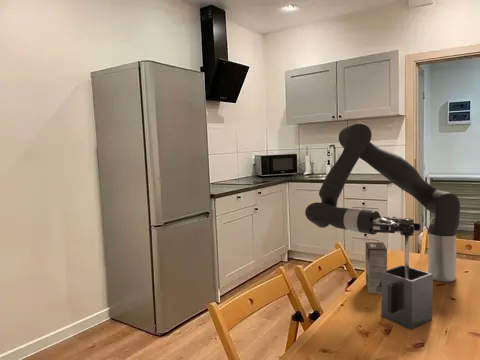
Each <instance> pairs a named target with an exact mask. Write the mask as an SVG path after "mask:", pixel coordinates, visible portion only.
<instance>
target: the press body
mask: <svg viewBox="0 0 480 360" xmlns="http://www.w3.org/2000/svg"><path fill="white" fill-rule="evenodd" d="M433 281H434V280H433V274H432V273H428V271H424V270H420V269H417V268H413V267H410V266H409V280H408V279H405V278H404V265H401V264H400V265H399V266H398V265H397V266H395V267H392V268H389V269H387V270H386V271H383V272H381V295H380V296H381V300H380V301H381V303H380V304H381V306H380V308H381V310H380V311H381V312H380V313H381V314H380V315H381V318H382V319H385V320H388V321H389V322H392V323H395V324H397V325H398V326H401V327H404V328H406V329H409V330H411V331H413V330H415V329H417V328H420V327H421V326H423V325H425V324H428V323H430V322H432V321H433V300H434V299H433V292H434V291H433V290H434V288H433V287H434V286H433V285H434V282H433Z"/></svg>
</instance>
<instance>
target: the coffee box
mask: <svg viewBox="0 0 480 360" xmlns="http://www.w3.org/2000/svg"><path fill="white" fill-rule="evenodd" d="M386 270H388V248H387V247H386V244H385V243H384V241H383V242H378V241H377V242H375V241H374V242H370V241H367V242H365V284H366V288H367V291H368V293H369V294H381V272H383V271H386Z"/></svg>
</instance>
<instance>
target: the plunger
mask: <svg viewBox="0 0 480 360" xmlns="http://www.w3.org/2000/svg"><path fill="white" fill-rule="evenodd" d="M401 218H402V217H401ZM414 222H415V220H414V219H413V218H409V217H408V218H407V217H405V218H402V219H400V224H405V225H413V226H414ZM414 233H415V232H414ZM414 233H405V232H399V234H400V235H401V236H404V265H403V266H404V278H405V279H408V280H409V267H410V237H413V236H414Z"/></svg>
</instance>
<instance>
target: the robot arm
mask: <svg viewBox="0 0 480 360" xmlns="http://www.w3.org/2000/svg"><path fill="white" fill-rule="evenodd" d="M372 133H373V132H372V130H371V128H370V127H369V126H368V125H367V124H366V123H364V122H363V123H362V122H358V123H353V124H351V125H348V126H346V127H344V128H343V129H342V130H340V132H339V134H338V142H339V144H340V145H341V147H342V148H343V150H342V153H341V154H340V156H339V157H338V159H337V160H336V162H335V163H334V165H333V166H332V167H331V169H330V170H329V171H328V173H327V175H326V177H325V178H324V180H323V183H322V184H321V187H320V189H319V190H318V196H319V197H320V200H321V201H320V202H317V201H316V202H312V203H310V204H308V205H307V207H306V208H305V211H304V213H305V217H306V219H307V220H308V221H309V222H311V223H313V224H314V225H316V226H317V227H318V228H323V229H325V228H327V227H329V226H332V227H333V228H337V229H340V230H347V231H351V232H355V233H361V234H367V235H376V234H377V233H385V234H395V233H397V234H398V233H399V234H400V232H405V233H415V231H416V232H419V231H421V229H422V228H421V223H419V222H416V221H414V226H413V225H405V224H400V219H402V217H398V216H392V217H390V216H383V217H382V216H381V214H380V213H379V211H378V210H373V209H365V208H364V209H363V208H348V207H340V206H337V205H338V200H339V198H340V196H341V194H342V191H343V190H344V187H345V185H346V182H347V180H348V179H349V176H350V174H351V173H352V171H353V169H354V167H355V165H356V164H357V162H358V160H359V159H360V160H362V161H364V162H365V163H366V164H368V165H369V167H371V168H373V169H374V170H375V171H376V172H378V173H379V174H380V175H382V176H383V177H384V178H386V179H387V180H388V181H389V182H390V183H392V184H394V185H395V186H396V187H398V188H400V189H401V190H403V191H404V192H406V193H407V194H409V195H410V196H412V197H413V198H414V199H415V200H417V202H419V204H421V205H422V206H423V207H424V208H425V210H427V211H428V212H430V213H431V214H433V215H434V222H433V223H432V224H429V225H428V236H427V237H428V240H427V242H428V244H427V245H428V250H427V252H428V253H427V255H428V256H427V258H428V259H427V261H428V262H427V272H428V273H432V274H433V281H438V282H443V283H445V282H446V283H450V282H454V281H456V278H457V230H458V228H459V227H460V226H459V225H460V215H461V202H460V198H459V197H458V196H457V195H456V194H455V193H453V192H449V191H444V190H440V189H438V188H435V187H434V186H432V185H431V184H430V183H428V182H426V180H424V179H423V178H422V176H421V175H420V173H419V172H418V170H417V169H416V168H415V166H413V165H412V164H411V163H410V162H409V161H407V160H406V159H404V158H403V157H402V156H401V155H398V154H396V153H393V152H392V151H389V150H386V149H385V148H381V147H379V146H377V145H376V144H374V143H372V142H371V140H372V136H373V135H372Z"/></svg>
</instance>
